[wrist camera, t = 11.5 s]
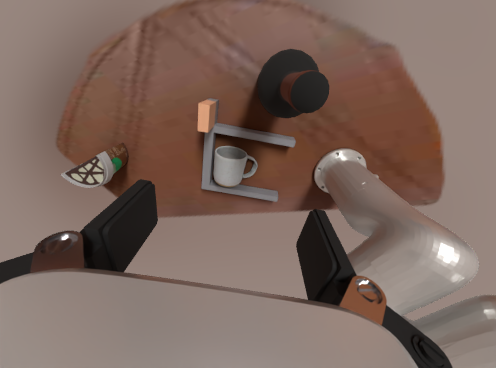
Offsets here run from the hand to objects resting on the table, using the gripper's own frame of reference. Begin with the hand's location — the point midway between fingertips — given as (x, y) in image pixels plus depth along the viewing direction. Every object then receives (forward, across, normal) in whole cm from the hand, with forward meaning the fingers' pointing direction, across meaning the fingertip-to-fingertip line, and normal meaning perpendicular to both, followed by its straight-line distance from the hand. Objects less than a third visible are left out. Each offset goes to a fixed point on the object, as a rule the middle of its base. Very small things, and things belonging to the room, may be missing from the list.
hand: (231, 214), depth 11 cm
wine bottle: (+36, -4, -7) cm, 37 cm away
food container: (+36, +33, +18) cm, 52 cm away
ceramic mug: (+37, +2, +12) cm, 39 cm away
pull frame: (+36, -1, +10) cm, 37 cm away
